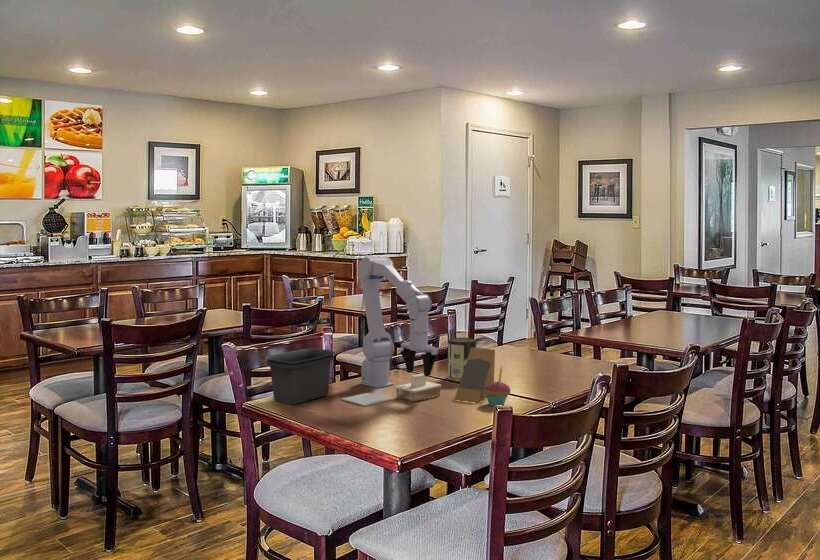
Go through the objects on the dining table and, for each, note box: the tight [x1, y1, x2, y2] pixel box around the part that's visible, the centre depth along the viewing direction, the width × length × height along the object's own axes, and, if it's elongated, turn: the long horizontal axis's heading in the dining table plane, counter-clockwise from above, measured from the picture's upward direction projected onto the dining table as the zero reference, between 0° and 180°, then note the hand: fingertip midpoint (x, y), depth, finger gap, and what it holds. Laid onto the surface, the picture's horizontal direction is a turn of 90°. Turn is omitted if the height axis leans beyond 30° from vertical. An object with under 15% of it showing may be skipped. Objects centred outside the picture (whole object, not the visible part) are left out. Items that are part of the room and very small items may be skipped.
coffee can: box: [447, 337, 478, 382], centre depth 267 cm, size 10×10×14 cm
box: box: [395, 387, 441, 402], centre depth 240 cm, size 8×12×3 cm, turn 136°
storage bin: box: [265, 347, 336, 406], centre depth 236 cm, size 21×16×14 cm
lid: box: [394, 373, 442, 393], centre depth 240 cm, size 9×13×5 cm
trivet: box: [341, 392, 392, 407], centre depth 234 cm, size 11×11×1 cm
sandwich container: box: [453, 347, 496, 404], centre depth 239 cm, size 9×15×15 cm, turn 154°
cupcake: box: [483, 365, 511, 407], centre depth 230 cm, size 9×8×12 cm
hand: (418, 373), depth 239 cm, fingers open, 7 cm apart
